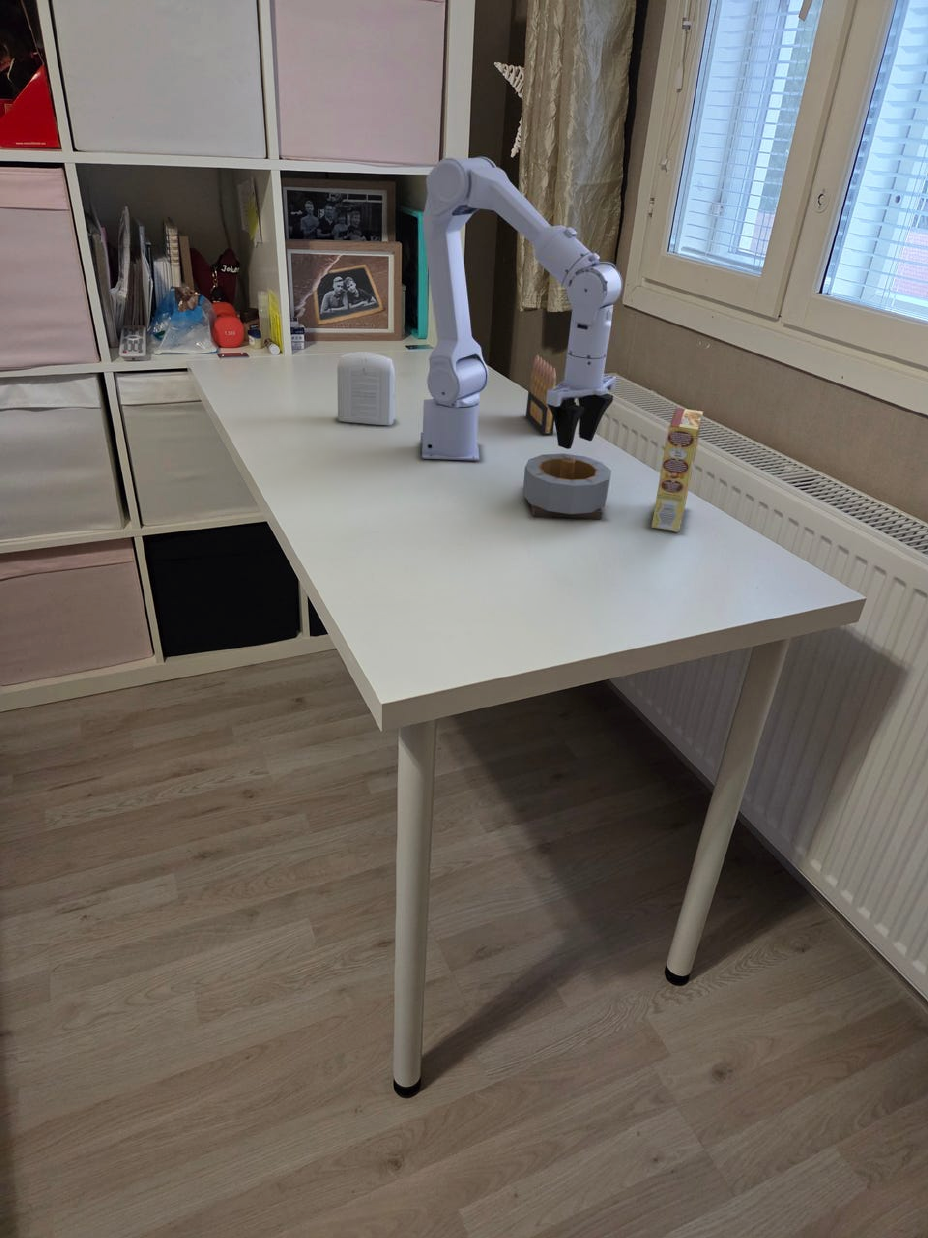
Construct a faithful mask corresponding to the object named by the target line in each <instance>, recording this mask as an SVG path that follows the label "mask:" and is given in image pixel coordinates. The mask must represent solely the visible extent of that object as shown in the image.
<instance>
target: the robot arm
mask: <svg viewBox="0 0 928 1238" xmlns="http://www.w3.org/2000/svg"><path fill="white" fill-rule="evenodd" d="M425 183H426V190H427V198H426V201H425V207H424V211H423V215H422V229H423V236H424V243H425V251H426V260H427V261H426V262H427V268H428V275H429V276H428V277H429V284H430V291H431V301H432V309H433V315H434V322H435V323H434V325H435V331H436V339H437V342H436V344H435V346H434V348H433V350H432V351H431V354H430V355H429V357H428V363H429V371H428V375H427V379H426V383H427V388H428V391H429V394H430V396H431V397H432V398H429V399H428V398H427V399H423V410H422V411H423V412H422V413H423V414H422V432H420V444H422V449H421V450H422V451H421V458H422V459H426V460H427V459H428V460H446V461H447V460H450V461H451V460H453V461H476V462H478V461H480V451H479V443H478V429H479V427H478V426H479V413H480V412H479V411H480V410H479V409H480V399H481V394H482V393H481V392H482V391H484V390H485V388H486V387H487V386H488V383H489V381H490V380H489V379H490V373H489V368H488V366H487V363H486V362H485V360H484V357H483V353H482V346H480V344H479V342H477V341H476V340H475V339H474V338H473V336H472V328H471V318H470V308H469V301H468V299H469V298H468V290H467V289H468V288H467V281H466V273H465V272H466V271H465V264H464V254H463V253H464V252H463V245H462V236H461V230H462V228H464V226H465V225H466V223H467V222H468V220H469V219H470V218H471V217H472V215H473V214H475V213H476V212H477V211H479V210H480V209H482V210H491V211H494V212H495V213H496V214H497V215H498V216H500V217H501V218H502V219H503V220H504V221H506V223H508V224H509V225H510V226H511V227H512V228H514V230H516V231H517V232H518V233H519V234H521V236H522V237H524V238H525V239H526V240H527V241H529V243H531V244H532V246H533V247H534V249H533V251H534V258H535V260H536V261H537V262H538V263H539V264H540V265H541V266H542V267H543V268H544V269H545V270H546V271H547V272H548V273H549V274H550V275H551V276H552V277H553V278H554V279H555V280H556V281H557V282H558V283H559V284H560V285H561V286H562V287H563V288H564V289H565V290H566V295H567V299H568V302H569V303H570V305H571V319H570V327H569V335H568V343H567V351H566V360H565V367H564V368H565V369H564V379H563V380H562V381H560V382H559V383H558V384H557V385H555V387H554V388H553V389H551V390H548V391H547V398H546V404H548V407H549V409H550V411H551V413H552V416H553V419H554V426H555V433H556V439H557V440H556V441H557V446H559V447H560V448H564V449H567V450H570V449H572V446H573V444H574V440H575V436H576V431H577V427H578V438H579V439H582V440H585V441H588V442H592V441H593V439H594V438H595V434H596V432H597V430H598V427H599V425H600V423H601V420H602V418H603V416H604V414H605V413H606V411H608V410H607V409H608V408H609V407H610V405H611V404H612V403H613V402H614V396H613V395H612V394H610V393H608V391H614V390H615V388H616V383H617V382H616V381H617V377H616V376H614V375H609V374H607V373H605V368H606V361H607V355H608V347H609V342H610V341H609V340H610V333H611V327H612V320H613V319H612V317H613V312H614V303H616V302H617V300H619V298H620V297H621V294H622V292H623V284H624V281H623V278H622V275H621V273H620V271H619V270H618V269H617V267H616V265H615V264H614V263H612V262H608V261H600V259H601V256H599V254H597V252H593V253H592V252H591V251H590V250H589V249H588V248H587V247H586V246H585V245H584V244H583V243H582V242H581V241H580V240H579V239H578V238H577V237H576V236H577V234H578V232H577V230H575V229H574V228H573V227H565V226H564V225H561V224H559V225H554V226H552V225H551V224H550V223H549V222H548V221H547V220H546V218H544V217H543V216H542V215H541V213H540V212H539V211H538V210H537V209H536V208H535V207H534V206H533V205H532V203H530V201H529V200H528V199H526V197H525V196H524V195H523V194H522V193H521V192H520V191H519V189H518V188H517V187H516V186H515V184H513V183H512V182H511V181H510V178H509V177H508V175H507V173H506V172H505V171H504V170H503V169H502V168H500V167H497V166H496V164H495V162H493V161H492V160H491V159H490V158H488V157H486V156H476V157H466V158H465V157H464V158H463V157H462V158H459V157H458V158H455V157H445V158H442V159H440V160H439V161H438V162H437V163H436V164H435V165H434V166H433V168H432V169H431V171H430V173H428V175H427V177H426V179H425ZM576 399H577V400H578V404H577V401H576Z"/></svg>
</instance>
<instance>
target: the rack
mask: <svg viewBox="0 0 928 1238" xmlns="http://www.w3.org/2000/svg"><path fill="white" fill-rule="evenodd" d="M574 467H575V460H574V459H572V458H563V459H562V461H561V469H560V478H564V479H571V480H573V475H574ZM530 508H531V513H532V516H533V517H535V518H559V519H560V518H561V519H562V518H564V519H587V520H602V517H603V510H602V508H600V509H598V510H596V511H594V512H591V513H578V514H566V513H559V512H553V511H547V510H545V509H542V508H540V507H537V506H535V505H532V504H530Z"/></svg>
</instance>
